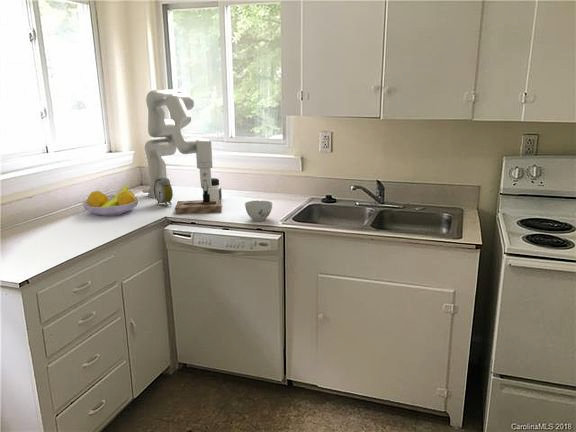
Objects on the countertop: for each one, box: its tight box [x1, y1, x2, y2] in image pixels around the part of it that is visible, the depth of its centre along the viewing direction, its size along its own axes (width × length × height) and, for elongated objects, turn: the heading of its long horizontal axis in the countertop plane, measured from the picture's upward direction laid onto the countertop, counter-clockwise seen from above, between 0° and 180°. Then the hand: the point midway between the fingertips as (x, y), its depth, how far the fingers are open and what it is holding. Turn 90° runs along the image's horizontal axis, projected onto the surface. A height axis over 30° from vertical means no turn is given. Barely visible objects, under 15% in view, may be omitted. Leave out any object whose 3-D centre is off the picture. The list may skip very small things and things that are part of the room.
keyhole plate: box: [174, 199, 222, 215], centre depth 239 cm, size 22×14×3 cm, turn 97°
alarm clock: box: [154, 176, 174, 208], centre depth 248 cm, size 12×7×15 cm, turn 41°
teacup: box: [244, 200, 273, 222], centre depth 221 cm, size 15×12×8 cm
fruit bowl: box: [81, 183, 139, 217], centre depth 236 cm, size 28×27×11 cm
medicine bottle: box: [209, 177, 223, 201], centre depth 257 cm, size 7×7×12 cm
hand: (206, 201), depth 239 cm, fingers closed on peg, 3 cm apart
